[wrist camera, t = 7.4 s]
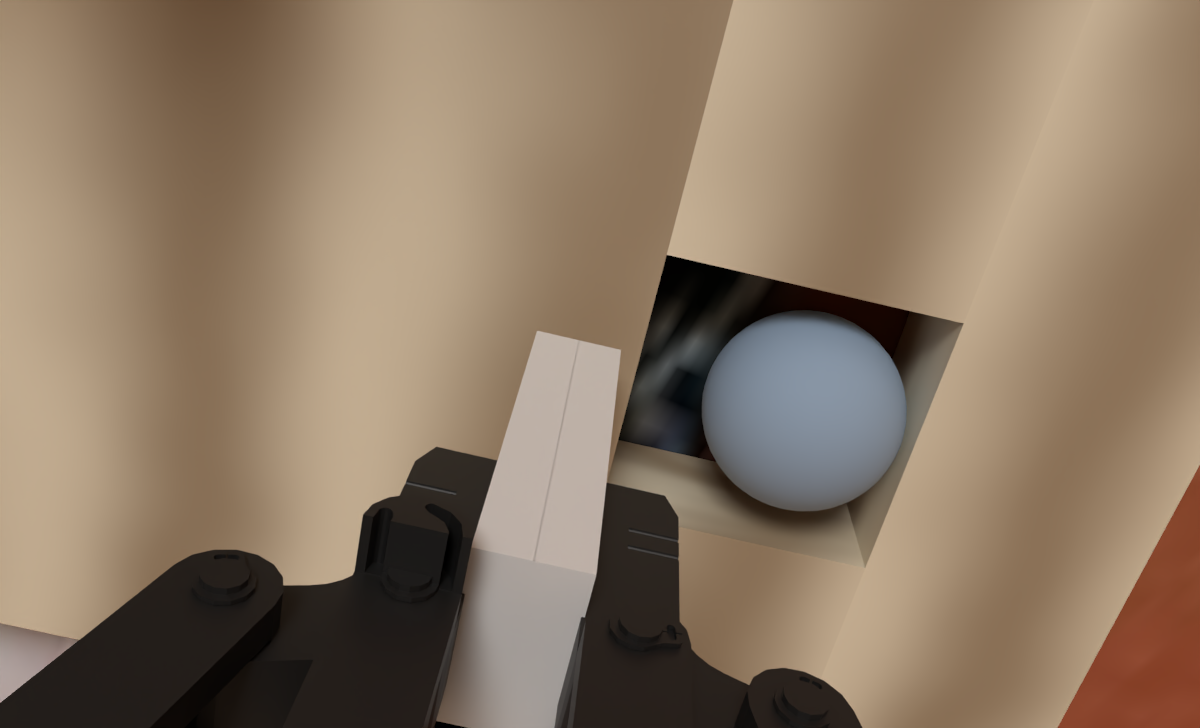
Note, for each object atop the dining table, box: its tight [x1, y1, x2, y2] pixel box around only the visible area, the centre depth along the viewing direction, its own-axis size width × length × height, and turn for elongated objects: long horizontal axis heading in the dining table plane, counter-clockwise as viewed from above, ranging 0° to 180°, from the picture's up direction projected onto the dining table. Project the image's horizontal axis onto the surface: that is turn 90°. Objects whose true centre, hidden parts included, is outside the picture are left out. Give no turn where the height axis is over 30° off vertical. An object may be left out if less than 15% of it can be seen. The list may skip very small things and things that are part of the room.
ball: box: [702, 310, 907, 511], centre depth 21 cm, size 4×4×4 cm
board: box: [0, 0, 1200, 728], centre depth 21 cm, size 28×18×3 cm, turn 78°
